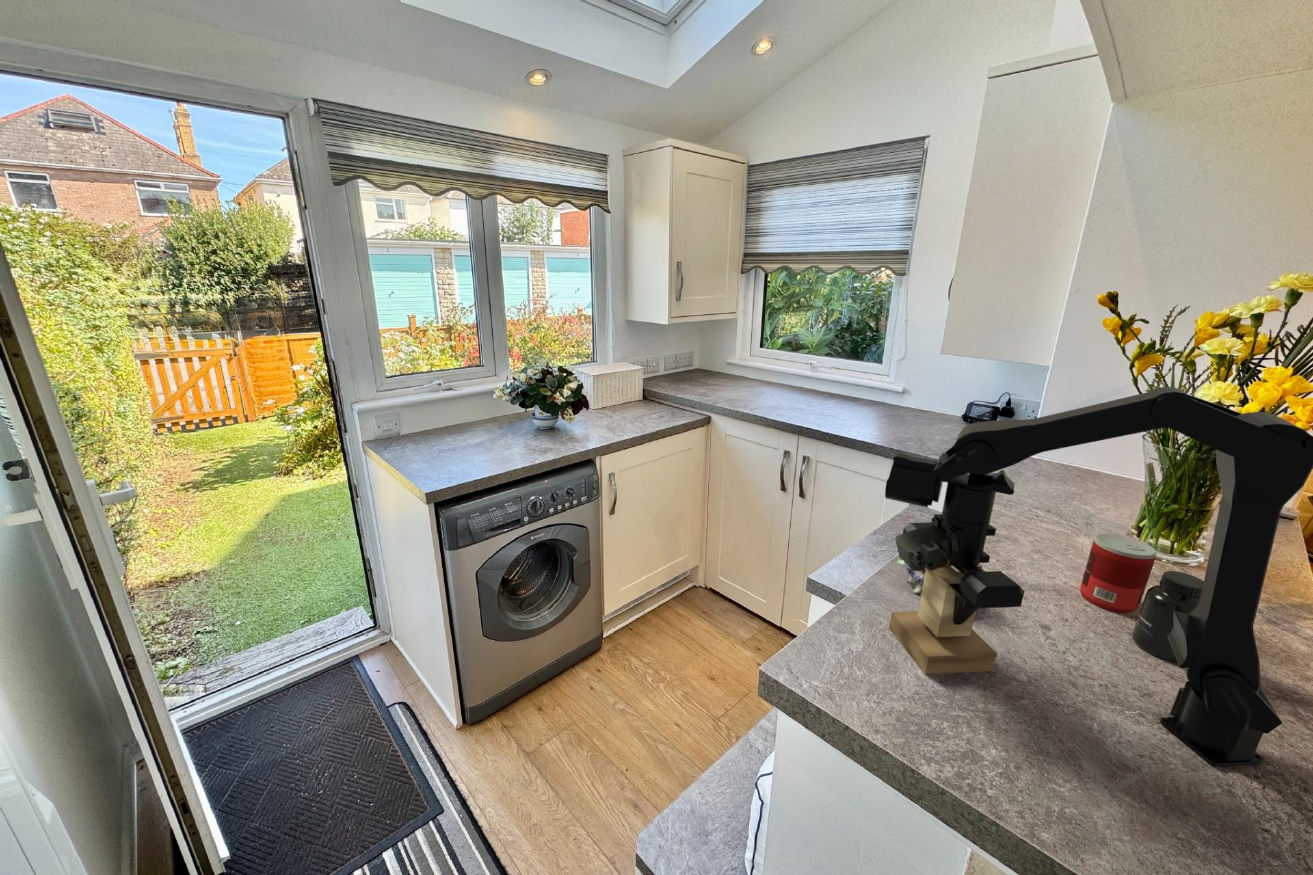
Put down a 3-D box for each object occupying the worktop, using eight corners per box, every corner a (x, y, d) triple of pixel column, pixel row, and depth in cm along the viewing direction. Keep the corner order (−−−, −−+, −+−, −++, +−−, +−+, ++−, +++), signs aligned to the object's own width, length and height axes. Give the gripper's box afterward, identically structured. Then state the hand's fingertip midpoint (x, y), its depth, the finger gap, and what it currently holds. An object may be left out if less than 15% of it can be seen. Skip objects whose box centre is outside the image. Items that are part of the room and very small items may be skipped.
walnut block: (992, 671, 74) (997, 653, 73) (925, 674, 73) (928, 656, 72) (949, 625, 84) (952, 609, 83) (889, 628, 83) (891, 612, 82)
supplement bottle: (1120, 639, 81) (1142, 570, 78) (1147, 629, 84) (1170, 562, 80) (1174, 668, 75) (1201, 596, 72) (1202, 657, 77) (1230, 587, 74)
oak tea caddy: (972, 636, 75) (984, 582, 72) (936, 637, 74) (947, 583, 72) (949, 613, 80) (959, 562, 77) (915, 614, 80) (924, 563, 77)
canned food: (1149, 617, 87) (1169, 558, 83) (1094, 610, 88) (1111, 552, 85) (1120, 591, 94) (1137, 535, 91) (1069, 585, 95) (1085, 530, 92)
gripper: (876, 489, 80) (863, 578, 85) (951, 550, 62) (929, 659, 67) (946, 487, 81) (929, 576, 86) (1039, 547, 63) (1012, 655, 68)
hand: (946, 612), depth 77 cm, fingers closed on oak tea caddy, 5 cm apart
